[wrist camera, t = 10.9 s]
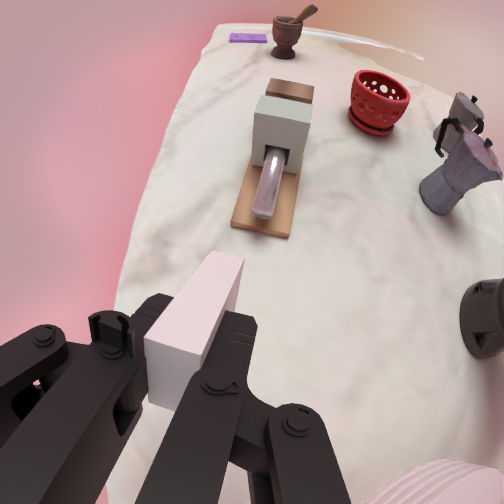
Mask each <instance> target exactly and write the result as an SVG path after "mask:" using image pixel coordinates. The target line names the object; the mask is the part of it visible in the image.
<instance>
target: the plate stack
mask: <svg viewBox="0 0 504 504" xmlns="http://www.w3.org/2000/svg"><path fill="white" fill-rule="evenodd" d="M503 500H504V475H503V473H502V472H501V471H500V470H499V469H497V468H493V467H486V466H482V465H476V464H472V463H466V462H463V461H458V460H454V459H449V458H440V459H434V460H430V461H427V462H424V463H422V464H420V465H417V466H415V467H413V468H411V469H410V470H408V471H406V472H404V473H403V474H401V475H400V476H398V477H397V478H395V479H394V480H392V481H391V482H390V483H388V484H387V485H386V486H385V487H383V488H382V489H381V490H380V491H378V492H377V493H376V494H375V495H374V496H373V497H372V498H371V499H370V500H369V501H368V502H367V503H366V504H503Z"/></svg>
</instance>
